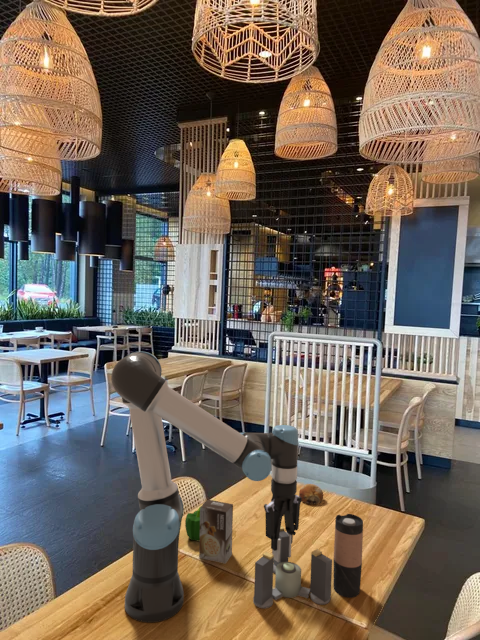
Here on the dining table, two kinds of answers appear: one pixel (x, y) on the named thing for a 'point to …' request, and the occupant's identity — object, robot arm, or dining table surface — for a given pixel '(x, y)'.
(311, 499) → the bread roll
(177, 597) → the robot arm
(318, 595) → the grey post tan tip
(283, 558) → the grey block tan end
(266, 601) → the dark grey upright block
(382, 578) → the dining table surface
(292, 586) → the tribrach hub
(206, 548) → the coffee box
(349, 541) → the travel mug
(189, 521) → the bell pepper
